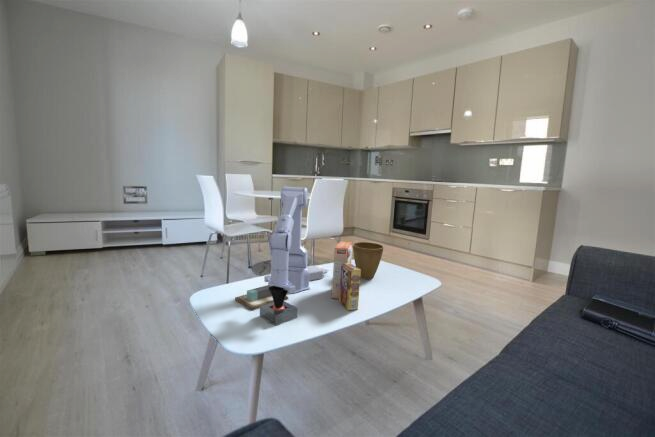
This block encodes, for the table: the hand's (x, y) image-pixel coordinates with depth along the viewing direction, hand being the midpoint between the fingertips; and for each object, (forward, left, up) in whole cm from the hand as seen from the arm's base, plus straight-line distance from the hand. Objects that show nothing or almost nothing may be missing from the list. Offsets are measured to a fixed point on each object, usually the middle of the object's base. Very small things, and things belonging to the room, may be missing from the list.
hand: (278, 307), depth 106 cm
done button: (0, 0, -2) cm, 2 cm away
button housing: (0, 0, -3) cm, 3 cm away
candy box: (-26, +9, -4) cm, 28 cm away
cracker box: (-33, -1, -4) cm, 33 cm away
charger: (-39, -24, -4) cm, 46 cm away
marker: (-4, -16, -2) cm, 17 cm away
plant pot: (-59, -8, -4) cm, 60 cm away
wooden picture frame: (-4, -16, -3) cm, 17 cm away
